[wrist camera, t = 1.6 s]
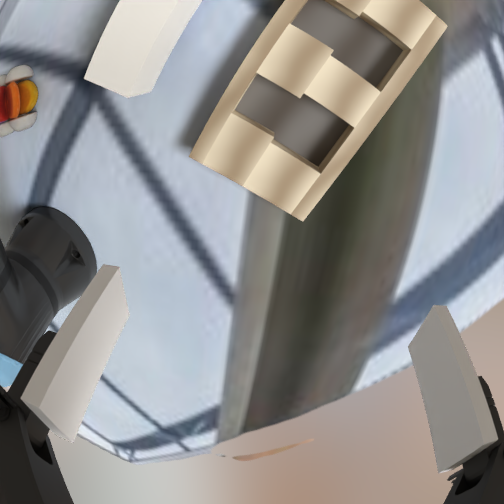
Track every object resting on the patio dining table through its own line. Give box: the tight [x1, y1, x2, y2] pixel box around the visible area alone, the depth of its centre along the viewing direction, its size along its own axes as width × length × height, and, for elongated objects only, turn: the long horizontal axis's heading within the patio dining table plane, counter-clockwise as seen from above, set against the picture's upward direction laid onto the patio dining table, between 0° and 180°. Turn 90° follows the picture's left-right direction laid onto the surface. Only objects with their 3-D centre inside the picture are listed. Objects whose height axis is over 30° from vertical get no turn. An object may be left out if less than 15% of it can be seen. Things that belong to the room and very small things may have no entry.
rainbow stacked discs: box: [0, 65, 38, 137], centre depth 24 cm, size 8×10×7 cm
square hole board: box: [189, 0, 447, 221], centre depth 24 cm, size 13×26×2 cm, turn 150°
